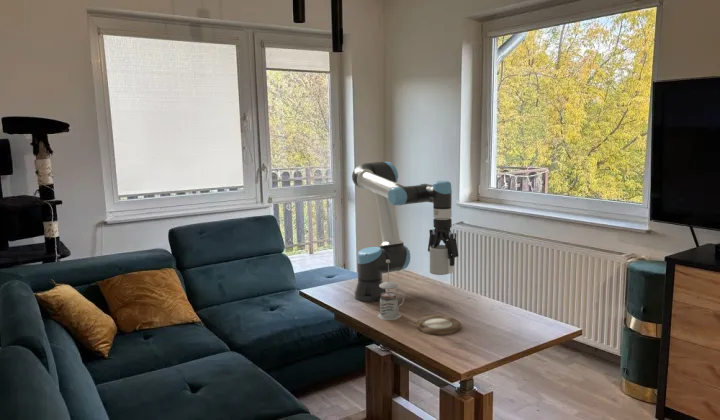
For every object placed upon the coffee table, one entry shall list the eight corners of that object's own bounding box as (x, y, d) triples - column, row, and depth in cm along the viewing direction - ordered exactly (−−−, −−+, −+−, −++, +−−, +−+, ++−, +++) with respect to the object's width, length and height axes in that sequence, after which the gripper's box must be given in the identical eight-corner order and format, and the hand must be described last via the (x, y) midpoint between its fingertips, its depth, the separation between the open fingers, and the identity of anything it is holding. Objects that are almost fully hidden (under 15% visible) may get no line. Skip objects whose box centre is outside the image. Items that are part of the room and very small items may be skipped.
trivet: (407, 324, 214) (406, 318, 214) (439, 315, 224) (439, 309, 224) (436, 338, 199) (436, 332, 199) (470, 327, 209) (470, 321, 209)
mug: (437, 276, 215) (437, 250, 213) (425, 271, 222) (425, 246, 221) (460, 271, 220) (460, 246, 219) (448, 267, 228) (448, 242, 226)
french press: (381, 311, 231) (380, 256, 227) (407, 313, 227) (406, 257, 223) (374, 318, 222) (373, 261, 218) (401, 321, 218) (400, 263, 214)
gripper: (418, 216, 224) (419, 267, 228) (454, 222, 207) (454, 277, 211) (431, 214, 229) (432, 264, 232) (467, 220, 211) (467, 274, 215)
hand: (442, 270), depth 221 cm, fingers closed on mug, 8 cm apart
